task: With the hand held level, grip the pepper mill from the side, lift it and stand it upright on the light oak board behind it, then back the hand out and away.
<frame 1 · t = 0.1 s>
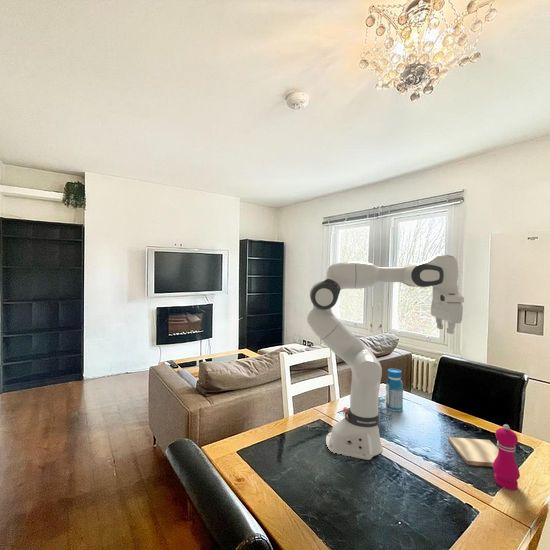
hand: (444, 331, 119), 48 cm above the table, tool pointing down, fingers open, 8 cm apart
beverage bottle: (394, 408, 157), on the table
pepper mill: (505, 484, 102), on the table
oak board: (478, 453, 119), on the table
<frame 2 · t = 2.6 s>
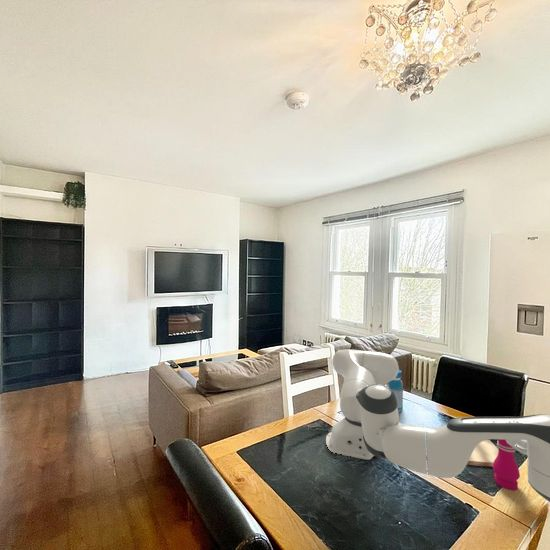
hand: (532, 429, 88), 25 cm above the table, tool horizontal, fingers open, 8 cm apart
nothing on the table moved.
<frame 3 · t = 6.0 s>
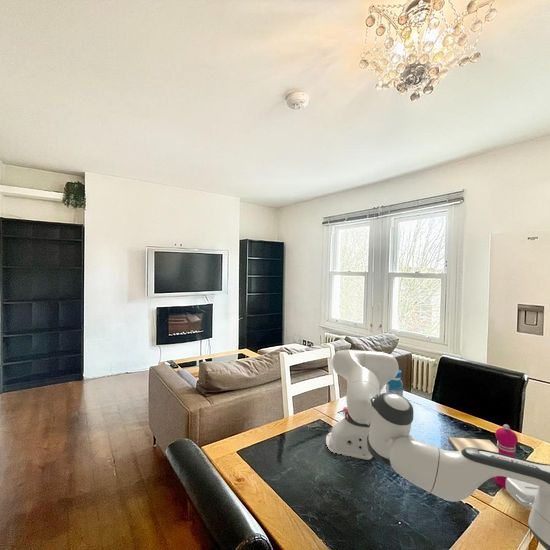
hand: (530, 474, 90), 11 cm above the table, tool horizontal, fingers open, 8 cm apart
nothing on the table moved.
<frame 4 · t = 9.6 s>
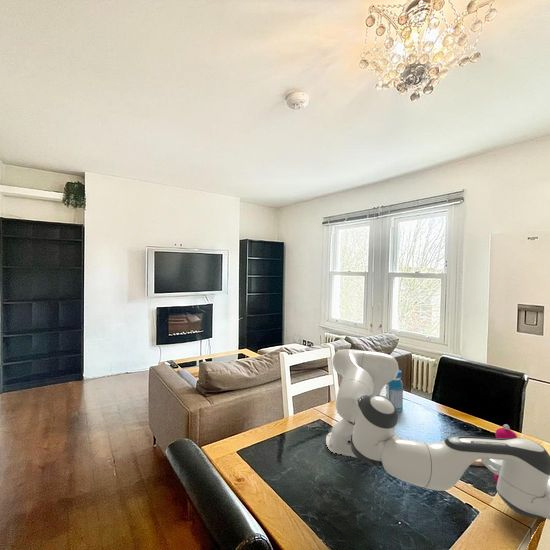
hand: (504, 449, 102), 11 cm above the table, tool horizontal, fingers closed on pepper mill, 5 cm apart
pepper mill: (505, 484, 102), on the table, touching gripper
everything else where it was.
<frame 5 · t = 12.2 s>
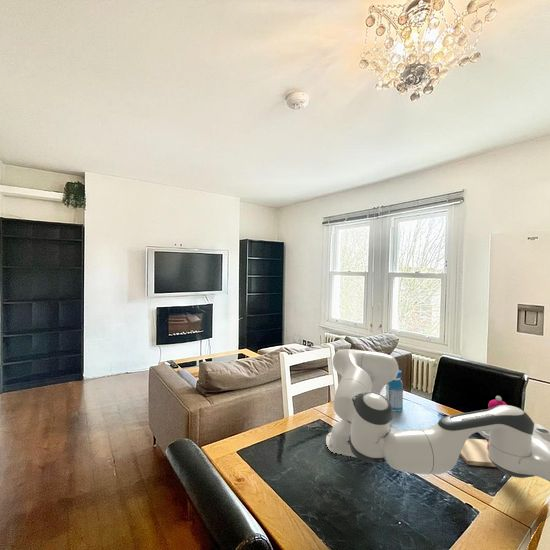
hand: (496, 419, 108), 18 cm above the table, tool horizontal, fingers closed on pepper mill, 5 cm apart
pepper mill: (498, 452, 107), point 7 cm above the table, touching gripper
everything else where it was.
when the fingers open (13 cm above the table, at t = 15.2 s): pepper mill stays where it is, resting on oak board.
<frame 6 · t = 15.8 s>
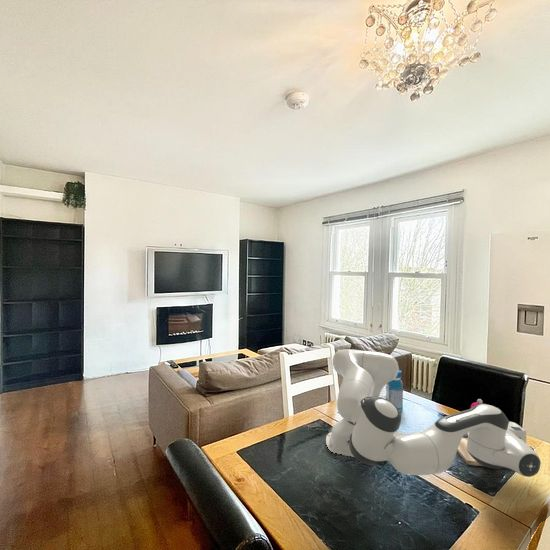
hand: (478, 418, 119), 13 cm above the table, tool horizontal, fingers open, 8 cm apart
pepper mill: (479, 450, 118), point 1 cm above the table, touching oak board
everything else where it was.
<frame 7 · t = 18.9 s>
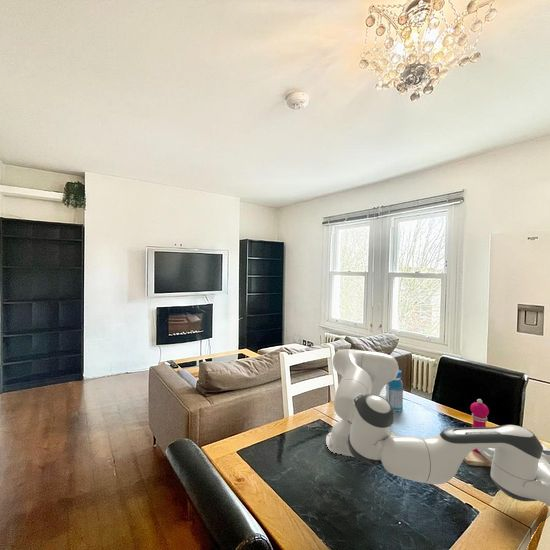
hand: (499, 437, 105), 13 cm above the table, tool horizontal, fingers open, 8 cm apart
nothing on the table moved.
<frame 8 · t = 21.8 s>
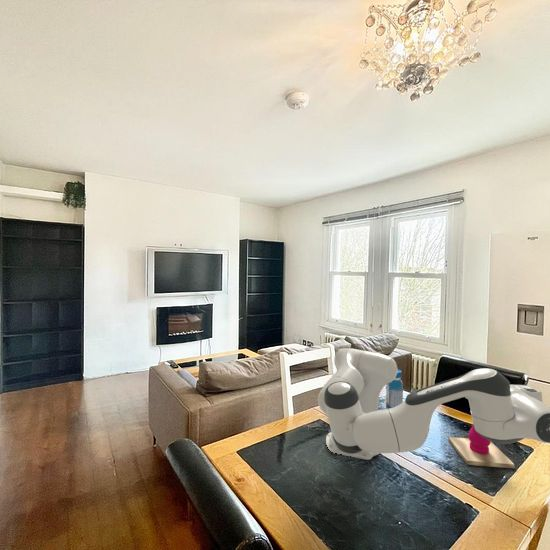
hand: (483, 383, 101), 34 cm above the table, tool horizontal, fingers open, 8 cm apart
nothing on the table moved.
at the end: pepper mill inside the target area on the oak board (0.1 cm from its centre), point 1.3 cm above the oak board's base; pepper mill tilted 0°; the gripper is holding nothing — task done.
